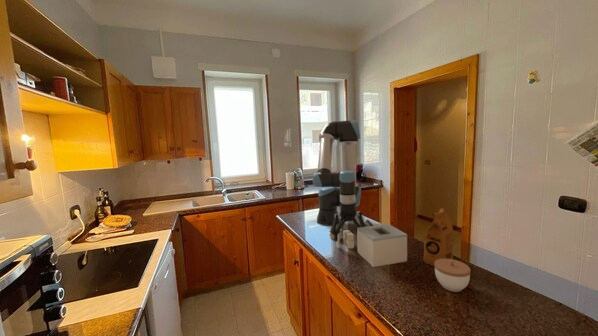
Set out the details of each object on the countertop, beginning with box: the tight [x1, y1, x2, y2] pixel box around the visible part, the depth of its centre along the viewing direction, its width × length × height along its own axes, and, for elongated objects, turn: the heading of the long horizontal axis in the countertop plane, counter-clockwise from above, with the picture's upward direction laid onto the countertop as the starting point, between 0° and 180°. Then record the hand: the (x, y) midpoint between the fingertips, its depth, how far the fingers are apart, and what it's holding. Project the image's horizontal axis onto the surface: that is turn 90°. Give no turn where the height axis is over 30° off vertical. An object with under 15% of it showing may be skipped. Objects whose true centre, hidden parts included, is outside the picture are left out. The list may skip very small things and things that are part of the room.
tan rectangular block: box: [342, 229, 355, 249], centre depth 122 cm, size 6×3×7 cm, turn 13°
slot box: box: [356, 223, 408, 268], centre depth 109 cm, size 14×16×12 cm
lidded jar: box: [433, 258, 472, 293], centre depth 85 cm, size 11×11×9 cm
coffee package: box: [423, 208, 454, 267], centre depth 102 cm, size 10×12×22 cm
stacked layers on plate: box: [329, 226, 343, 241], centre depth 133 cm, size 10×9×6 cm
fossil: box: [364, 219, 375, 227], centre depth 134 cm, size 11×9×10 cm
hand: (348, 245), depth 122 cm, fingers open, 11 cm apart
